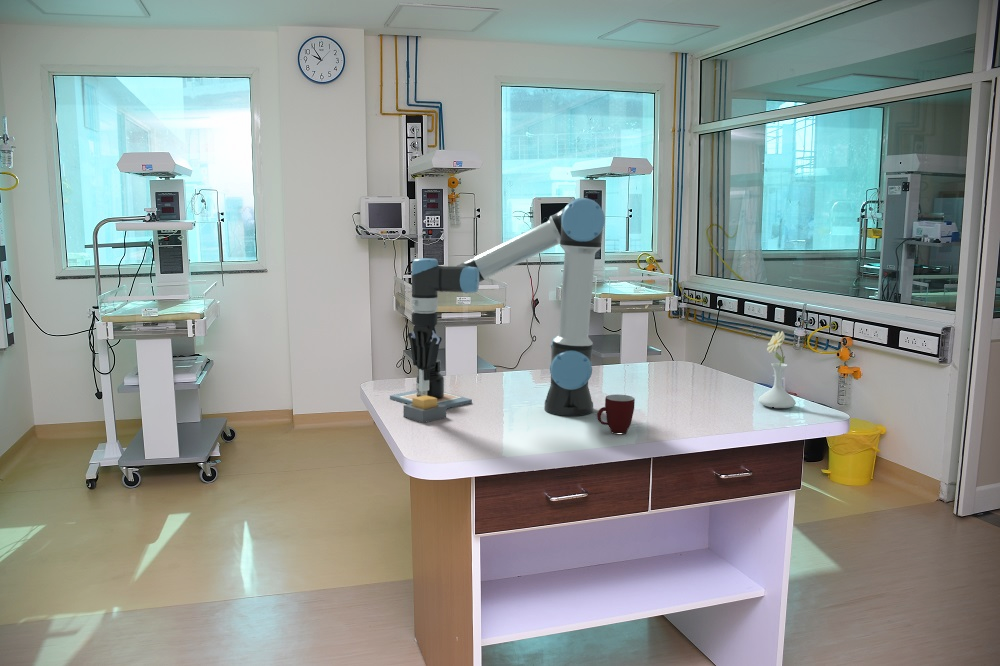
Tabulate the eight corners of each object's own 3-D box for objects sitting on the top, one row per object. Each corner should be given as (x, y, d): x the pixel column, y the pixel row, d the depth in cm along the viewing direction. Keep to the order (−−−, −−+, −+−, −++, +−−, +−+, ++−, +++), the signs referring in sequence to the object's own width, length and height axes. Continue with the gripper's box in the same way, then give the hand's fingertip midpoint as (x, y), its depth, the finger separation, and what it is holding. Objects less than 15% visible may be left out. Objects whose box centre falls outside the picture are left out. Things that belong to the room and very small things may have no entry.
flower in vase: (758, 401, 254) (763, 326, 250) (795, 404, 250) (800, 328, 246) (757, 410, 241) (762, 331, 238) (796, 413, 238) (801, 334, 234)
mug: (605, 438, 209) (606, 403, 207) (591, 431, 216) (592, 396, 215) (638, 435, 213) (640, 399, 211) (623, 427, 220) (624, 393, 219)
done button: (437, 411, 228) (437, 398, 228) (423, 414, 225) (423, 401, 224) (426, 408, 232) (425, 395, 231) (412, 411, 228) (412, 397, 228)
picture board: (471, 403, 246) (471, 399, 246) (433, 411, 235) (433, 407, 235) (427, 391, 262) (427, 387, 261) (389, 398, 250) (389, 395, 250)
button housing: (446, 417, 229) (446, 405, 228) (422, 422, 222) (422, 411, 222) (426, 411, 235) (426, 400, 235) (403, 416, 229) (403, 405, 228)
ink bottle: (414, 394, 252) (414, 358, 250) (441, 393, 254) (441, 357, 252) (418, 401, 242) (418, 364, 241) (446, 399, 245) (446, 363, 243)
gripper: (400, 310, 226) (400, 388, 229) (429, 315, 217) (428, 396, 220) (420, 308, 231) (419, 384, 235) (449, 312, 222) (448, 392, 226)
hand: (424, 390), depth 228 cm, fingers closed
